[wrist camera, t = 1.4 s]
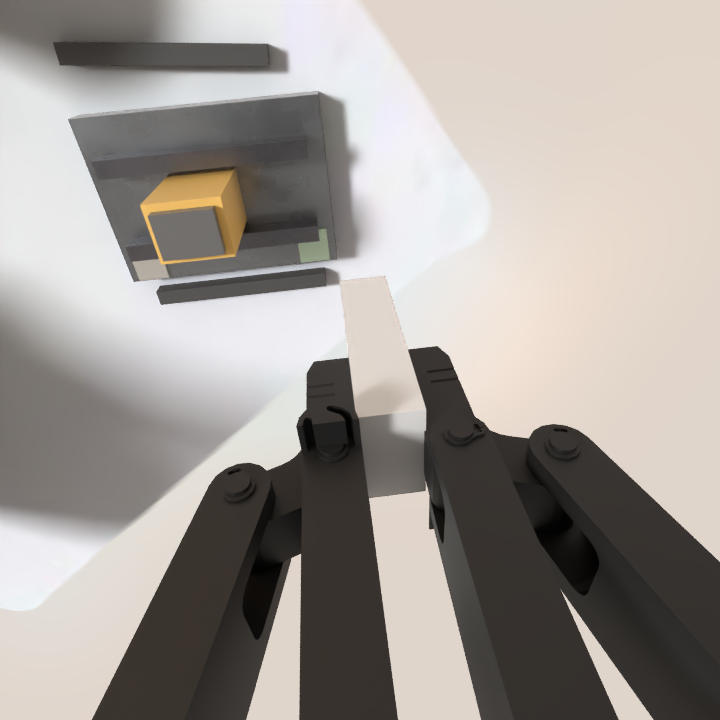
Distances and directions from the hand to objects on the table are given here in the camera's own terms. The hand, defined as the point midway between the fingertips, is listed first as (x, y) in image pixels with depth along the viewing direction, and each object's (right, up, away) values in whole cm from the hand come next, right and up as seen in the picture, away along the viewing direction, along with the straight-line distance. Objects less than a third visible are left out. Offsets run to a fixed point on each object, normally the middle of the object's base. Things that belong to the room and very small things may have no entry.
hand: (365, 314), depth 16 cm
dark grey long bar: (-9, +4, +18) cm, 21 cm away
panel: (-9, +10, +14) cm, 19 cm away
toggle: (-10, +9, +13) cm, 18 cm away
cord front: (-11, +15, +10) cm, 21 cm away
